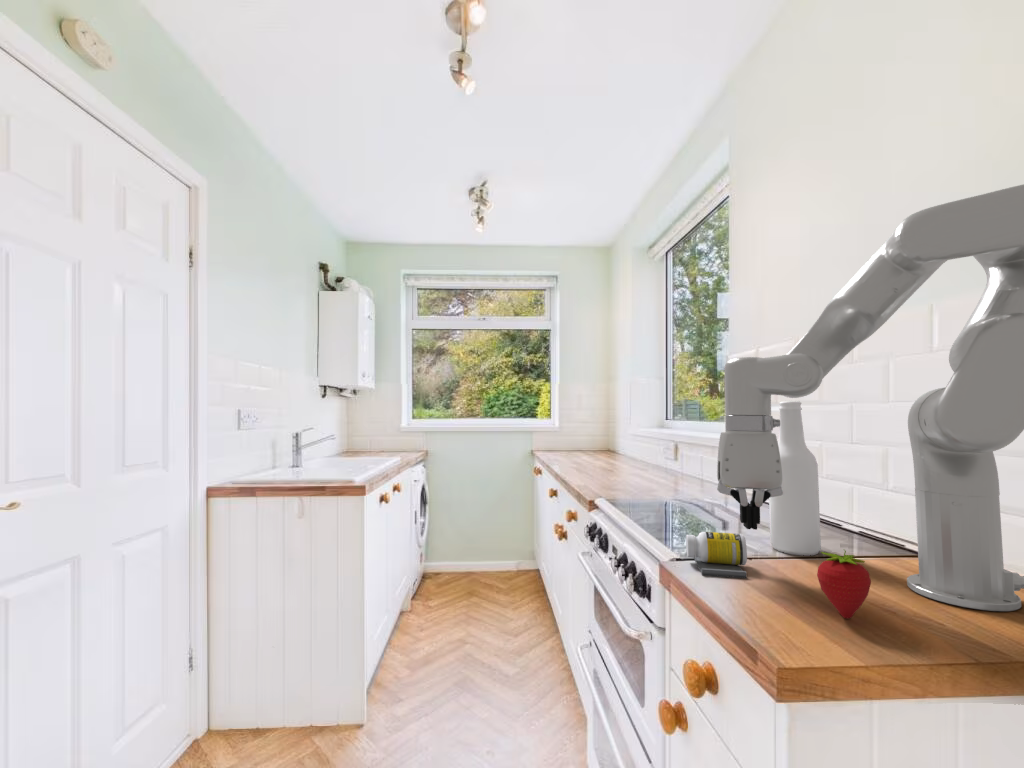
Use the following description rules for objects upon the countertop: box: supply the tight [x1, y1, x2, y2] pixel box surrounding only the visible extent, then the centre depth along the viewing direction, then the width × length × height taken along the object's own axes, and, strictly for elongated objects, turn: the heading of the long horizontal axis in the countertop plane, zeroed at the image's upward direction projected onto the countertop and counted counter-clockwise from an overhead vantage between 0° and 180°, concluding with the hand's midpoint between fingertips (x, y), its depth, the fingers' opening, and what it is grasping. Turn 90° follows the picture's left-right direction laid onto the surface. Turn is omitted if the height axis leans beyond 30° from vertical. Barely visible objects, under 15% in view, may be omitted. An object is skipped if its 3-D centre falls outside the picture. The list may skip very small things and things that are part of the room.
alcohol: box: [768, 400, 822, 557], centre depth 97 cm, size 9×9×30 cm
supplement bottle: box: [685, 531, 748, 566], centre depth 87 cm, size 5×5×10 cm
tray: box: [693, 557, 748, 579], centre depth 87 cm, size 7×12×1 cm, turn 167°
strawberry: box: [816, 550, 872, 620], centre depth 65 cm, size 6×8×10 cm
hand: (750, 527), depth 86 cm, fingers closed
